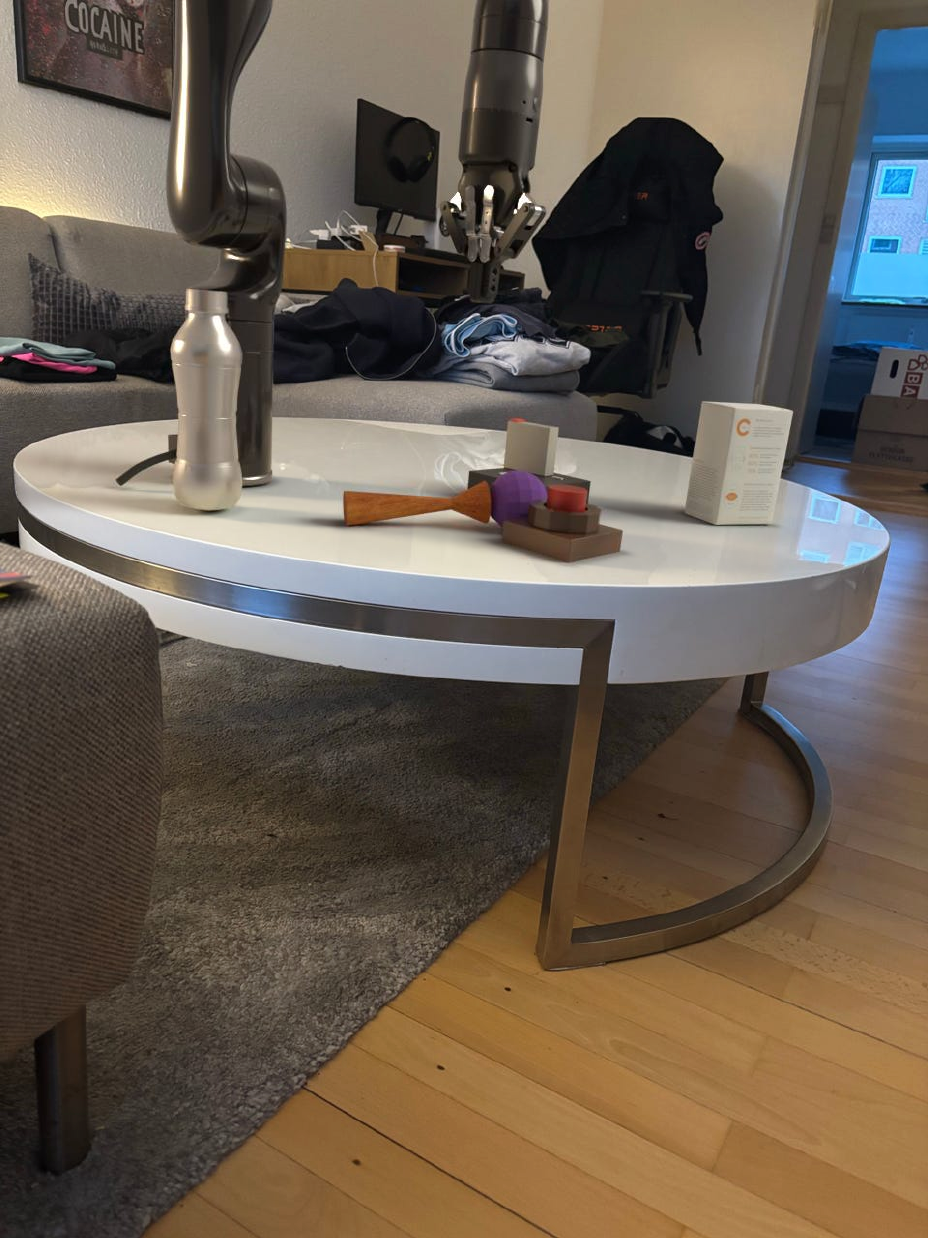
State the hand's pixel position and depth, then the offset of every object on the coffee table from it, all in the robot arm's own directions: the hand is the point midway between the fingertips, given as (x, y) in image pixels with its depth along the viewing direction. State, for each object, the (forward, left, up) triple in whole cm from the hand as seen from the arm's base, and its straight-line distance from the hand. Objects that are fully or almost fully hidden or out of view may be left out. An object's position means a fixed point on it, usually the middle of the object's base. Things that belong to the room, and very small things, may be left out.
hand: (481, 302), depth 94 cm
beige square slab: (+11, +1, -18) cm, 21 cm away
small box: (+25, -18, -21) cm, 38 cm away
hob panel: (+10, 0, -21) cm, 24 cm away
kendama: (-9, -7, -21) cm, 24 cm away
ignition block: (-5, -17, -21) cm, 28 cm away
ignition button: (-5, -17, -18) cm, 25 cm away
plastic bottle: (-26, +10, -21) cm, 35 cm away
